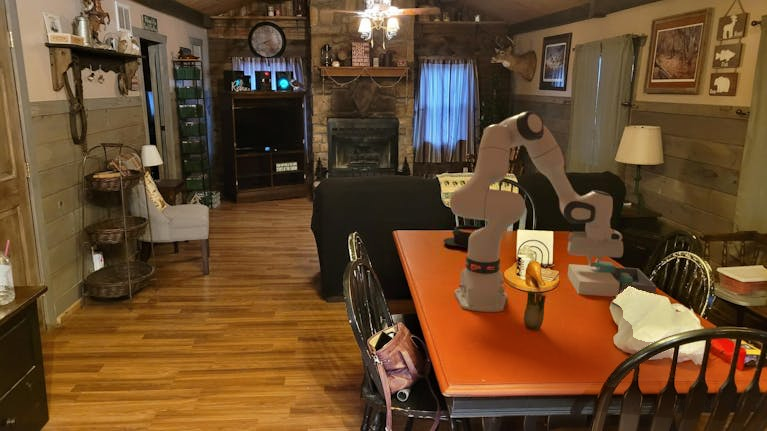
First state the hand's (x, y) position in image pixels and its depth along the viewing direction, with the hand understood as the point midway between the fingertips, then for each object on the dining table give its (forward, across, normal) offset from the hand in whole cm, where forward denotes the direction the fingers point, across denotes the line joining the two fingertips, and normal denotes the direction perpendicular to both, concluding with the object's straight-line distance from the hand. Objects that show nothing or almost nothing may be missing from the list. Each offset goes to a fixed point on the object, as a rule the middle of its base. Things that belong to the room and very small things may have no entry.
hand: (592, 266), depth 213 cm
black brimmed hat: (+7, -46, +40) cm, 62 cm away
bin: (+6, +12, -6) cm, 15 cm away
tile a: (+2, +8, -11) cm, 14 cm away
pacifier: (+6, +5, -23) cm, 24 cm away
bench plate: (+6, -1, -6) cm, 8 cm away
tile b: (+1, +4, 0) cm, 5 cm away
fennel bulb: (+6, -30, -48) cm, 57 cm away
